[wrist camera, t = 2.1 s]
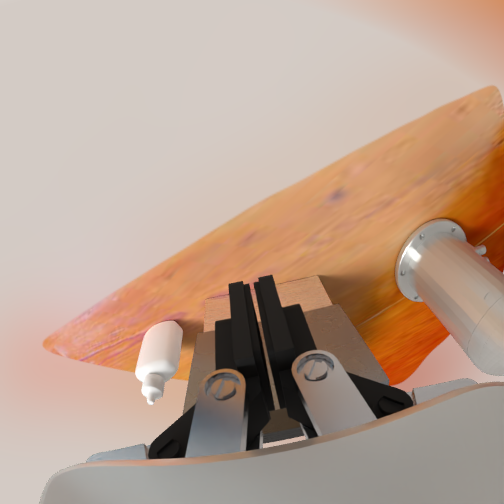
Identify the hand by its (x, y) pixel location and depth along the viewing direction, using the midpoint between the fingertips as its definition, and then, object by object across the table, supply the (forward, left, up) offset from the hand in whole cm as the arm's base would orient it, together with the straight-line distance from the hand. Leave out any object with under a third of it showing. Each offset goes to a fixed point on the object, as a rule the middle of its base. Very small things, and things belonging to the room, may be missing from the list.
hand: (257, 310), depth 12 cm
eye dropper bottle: (+14, +18, -23) cm, 32 cm away
